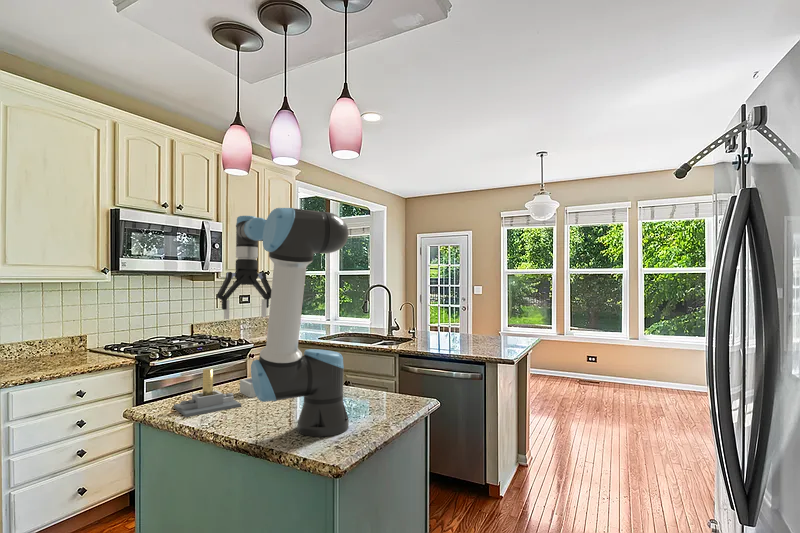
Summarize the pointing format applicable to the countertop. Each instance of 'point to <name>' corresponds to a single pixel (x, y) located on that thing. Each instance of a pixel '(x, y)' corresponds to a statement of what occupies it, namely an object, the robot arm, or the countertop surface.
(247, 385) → the tray
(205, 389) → the pin
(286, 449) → the countertop surface
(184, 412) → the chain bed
